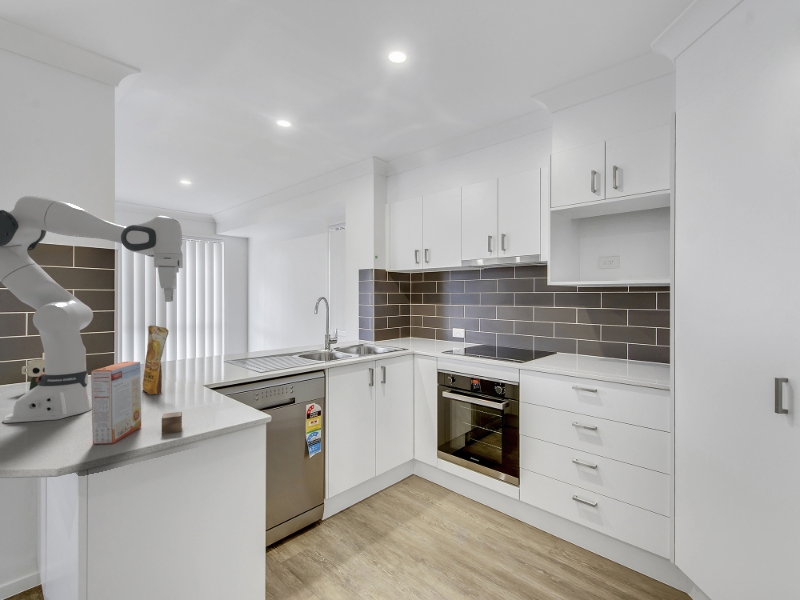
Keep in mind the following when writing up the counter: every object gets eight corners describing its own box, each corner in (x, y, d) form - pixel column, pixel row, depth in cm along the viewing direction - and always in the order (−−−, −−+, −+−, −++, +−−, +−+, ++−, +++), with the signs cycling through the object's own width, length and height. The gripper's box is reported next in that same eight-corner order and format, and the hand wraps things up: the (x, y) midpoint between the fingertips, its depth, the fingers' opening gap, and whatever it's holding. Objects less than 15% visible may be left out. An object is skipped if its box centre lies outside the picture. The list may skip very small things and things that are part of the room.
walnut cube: (161, 434, 115) (161, 418, 115) (163, 429, 120) (163, 413, 120) (180, 432, 118) (180, 416, 118) (181, 427, 122) (181, 411, 122)
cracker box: (122, 427, 121) (121, 361, 121) (142, 427, 122) (142, 361, 121) (90, 445, 107) (89, 369, 107) (113, 444, 108) (112, 369, 107)
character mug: (23, 394, 160) (23, 363, 159) (20, 392, 164) (19, 361, 164) (58, 389, 168) (58, 359, 168) (53, 387, 173) (53, 358, 172)
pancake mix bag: (156, 386, 176) (156, 324, 175) (169, 393, 163) (169, 327, 162) (139, 388, 171) (139, 325, 171) (151, 396, 158) (151, 328, 157)
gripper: (160, 264, 145) (161, 301, 146) (155, 260, 127) (155, 302, 127) (180, 265, 148) (180, 301, 148) (177, 260, 130) (177, 301, 130)
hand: (169, 301), depth 138 cm, fingers open, 8 cm apart
